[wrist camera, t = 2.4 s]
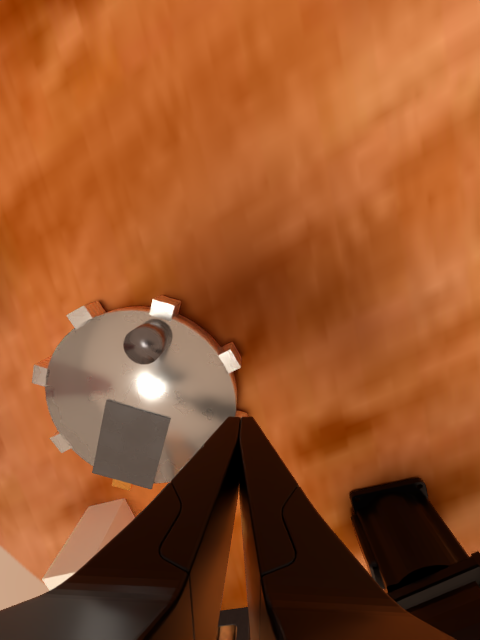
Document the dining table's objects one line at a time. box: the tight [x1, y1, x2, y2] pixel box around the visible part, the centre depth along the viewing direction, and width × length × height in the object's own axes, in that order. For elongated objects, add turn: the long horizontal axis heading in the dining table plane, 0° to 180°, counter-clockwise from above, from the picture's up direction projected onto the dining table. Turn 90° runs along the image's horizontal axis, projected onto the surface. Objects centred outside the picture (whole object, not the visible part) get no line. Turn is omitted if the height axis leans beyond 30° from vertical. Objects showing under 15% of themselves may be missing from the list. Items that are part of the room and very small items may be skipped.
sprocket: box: [32, 295, 247, 491], centre depth 20 cm, size 17×17×4 cm
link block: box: [42, 498, 135, 590], centre depth 23 cm, size 4×6×6 cm, turn 18°
